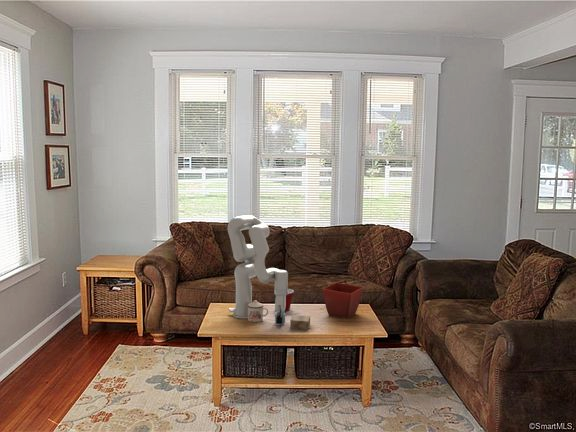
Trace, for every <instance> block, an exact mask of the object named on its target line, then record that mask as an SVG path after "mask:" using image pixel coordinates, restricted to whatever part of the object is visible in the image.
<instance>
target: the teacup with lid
mask: <svg viewBox="0 0 576 432" xmlns="http://www.w3.org/2000/svg"><path fill="white" fill-rule="evenodd" d="M264 310H266V314H264ZM268 314H269V310H268V308H267V307H264V303H260V302H258V300H257V299H256V300H255V299H254V300H253V301H252V303H249V304H248V318H247V320H248V322H251V323H252V322H253V323H260V322H262V321H263V318H264V317H266V316H267V315H268Z"/></svg>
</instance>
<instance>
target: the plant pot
mask: <svg viewBox="0 0 576 432" xmlns="http://www.w3.org/2000/svg"><path fill="white" fill-rule="evenodd" d="M321 291H322V295H323V301H324V305H325V309H326V311H327V314H328V316H332V317H337V318H342V319H349V318H350V317H353V316H354V315H355V314H356V313H357V311H358V308H359V306H360V302H361V299H362V294H363V291H364V287H363V286H359V285H352V284H346V283H341V282H334V283H332V284H330V285H328V286H326V287H323V288H322V290H321Z"/></svg>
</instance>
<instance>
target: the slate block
mask: <svg viewBox="0 0 576 432" xmlns="http://www.w3.org/2000/svg"><path fill="white" fill-rule="evenodd" d="M280 314H281V313H280ZM276 317H277V312H275V318H274V322H275V323H274V325H275V326H285V324H286V312H285V313H282V324H277V323H276Z"/></svg>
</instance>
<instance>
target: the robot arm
mask: <svg viewBox="0 0 576 432" xmlns="http://www.w3.org/2000/svg"><path fill="white" fill-rule="evenodd" d="M244 230H245V231H246V230H248V236H249V238H250V242H251V243H246V238H245V236H244V234H243V233H242V231H244ZM227 232H228V236H229V239H230V246H231V251H232V254H233V255H232V256H233V258H234V260H235V261H236V262H239V263H240V262H241V264H238V265H237V266H236V267H235V269H234V278H235V279H234V280H235V307H233V308H232V307H228V312H229V313H232V317H234V318H236V319H244V320H245V319H248V304H249V303H252V302H253V300H252V299H253V298H252V296H253V294H252V293H253V286H252V281H251V279H252V278H254V277H257V279H258V281H259V282H260V283H262V284H268V283H270V282H274V295H275V300H274V313H277V317H276V323H277V324H282V313H285V314H286V312H285V307H286V295H287V294H288V289H289V287H288V285H289V284H288V283H289V282H288V280H289V272H288V271H287V270H285V269H279V268H275V267H269V268H266V263H265V261H266V256H267V255H268V253H269V251H270V247H269V244H268V241H267V238H268V237H269V236H270V234H271V233H270V232H271V230H270V228H269V226H268V225H267V224H266V223H264V221H261V219H258V217H255V216H254V215H251V214H246V215H245V214H244V215H238V216H235V217H232V219H230V220H229V222H228V224H227ZM242 262H243V263H242ZM280 313H281V314H280Z"/></svg>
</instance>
